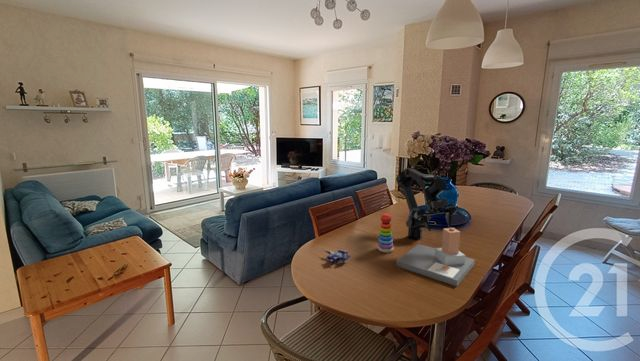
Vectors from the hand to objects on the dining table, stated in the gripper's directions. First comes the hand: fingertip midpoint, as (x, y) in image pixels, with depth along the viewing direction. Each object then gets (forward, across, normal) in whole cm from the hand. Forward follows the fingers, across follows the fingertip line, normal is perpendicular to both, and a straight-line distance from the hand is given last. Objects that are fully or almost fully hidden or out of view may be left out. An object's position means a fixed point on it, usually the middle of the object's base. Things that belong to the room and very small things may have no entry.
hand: (440, 229), depth 141 cm
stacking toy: (+5, -25, +11) cm, 28 cm away
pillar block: (+11, 0, -4) cm, 12 cm away
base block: (+14, 0, -2) cm, 14 cm away
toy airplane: (+8, -50, 0) cm, 51 cm away
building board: (+16, -6, -1) cm, 17 cm away
